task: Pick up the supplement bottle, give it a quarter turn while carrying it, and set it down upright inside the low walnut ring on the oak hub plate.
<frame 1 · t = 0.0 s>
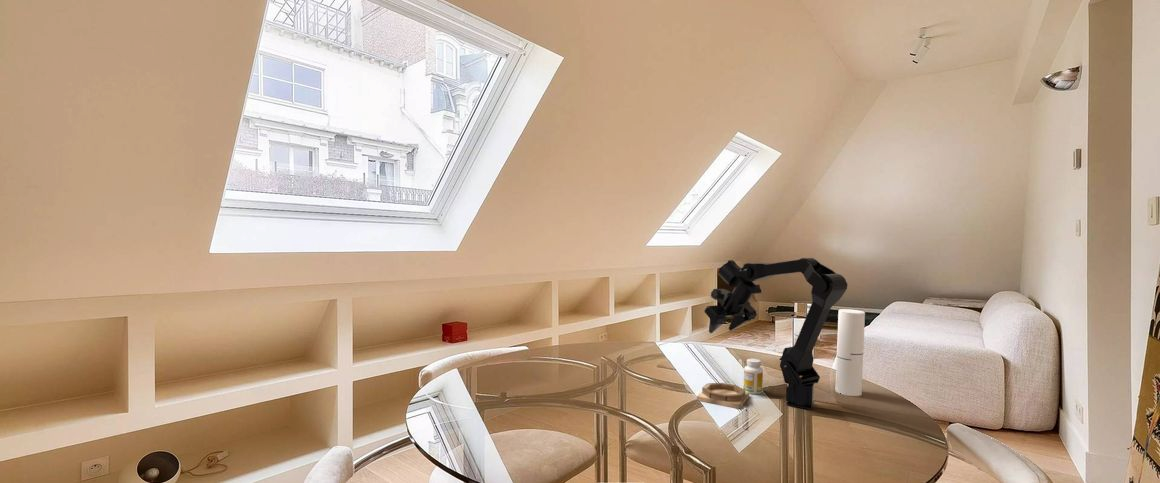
hand: (720, 331, 172), 15 cm above the table, tool tilted 35°, fingers open, 9 cm apart
cylindrical container: (848, 392, 158), on the table
hub plate: (723, 398, 150), on the table
supplement bottle: (752, 392, 157), on the table
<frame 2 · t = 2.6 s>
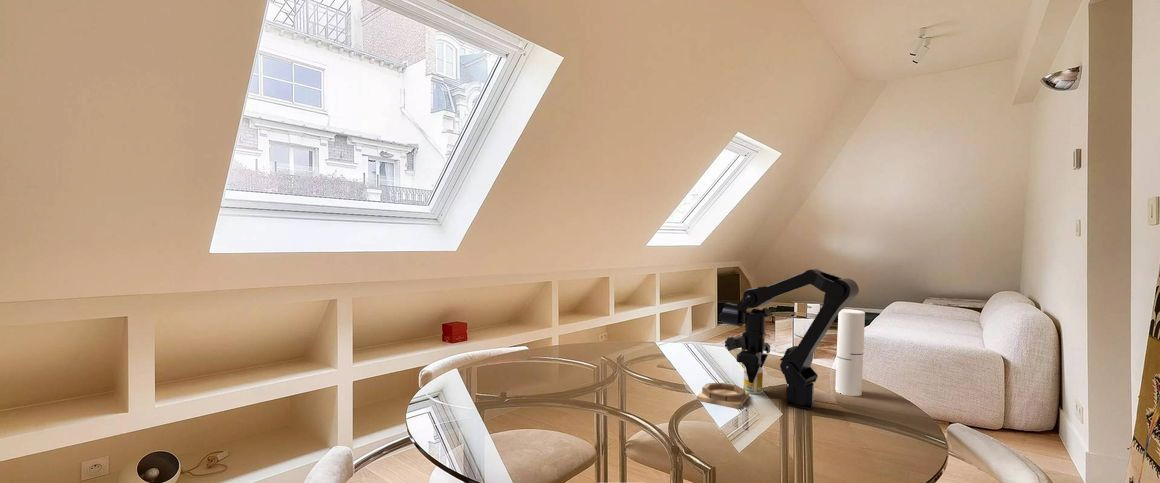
hand: (753, 380, 157), 4 cm above the table, tool pointing down, fingers closed on supplement bottle, 5 cm apart
supplement bottle: (752, 392, 157), on the table, touching gripper
everything else where it was.
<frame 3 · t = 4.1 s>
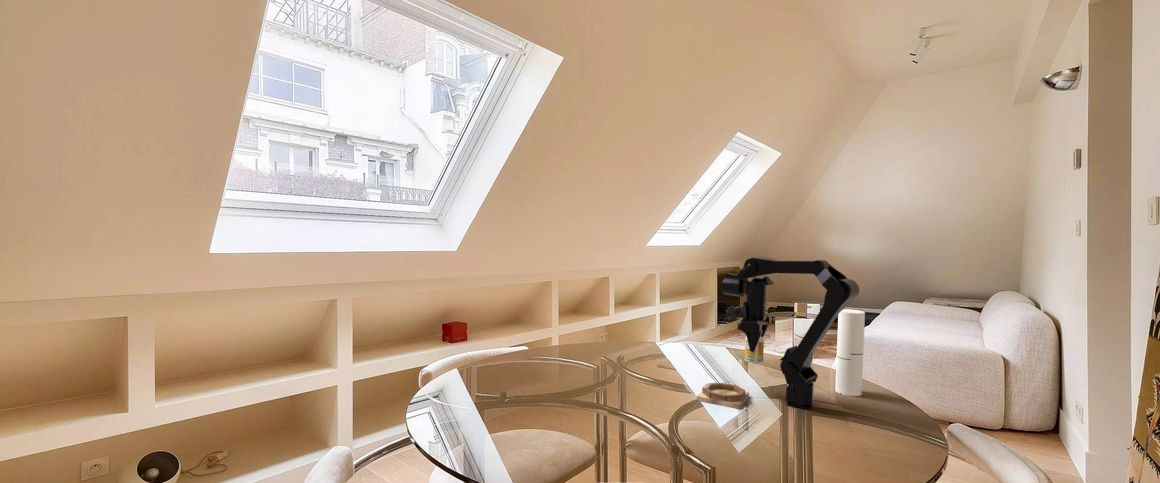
hand: (754, 349, 156), 13 cm above the table, tool pointing down, fingers closed on supplement bottle, 5 cm apart
supplement bottle: (753, 361, 156), point 9 cm above the table, touching gripper
everything else where it was.
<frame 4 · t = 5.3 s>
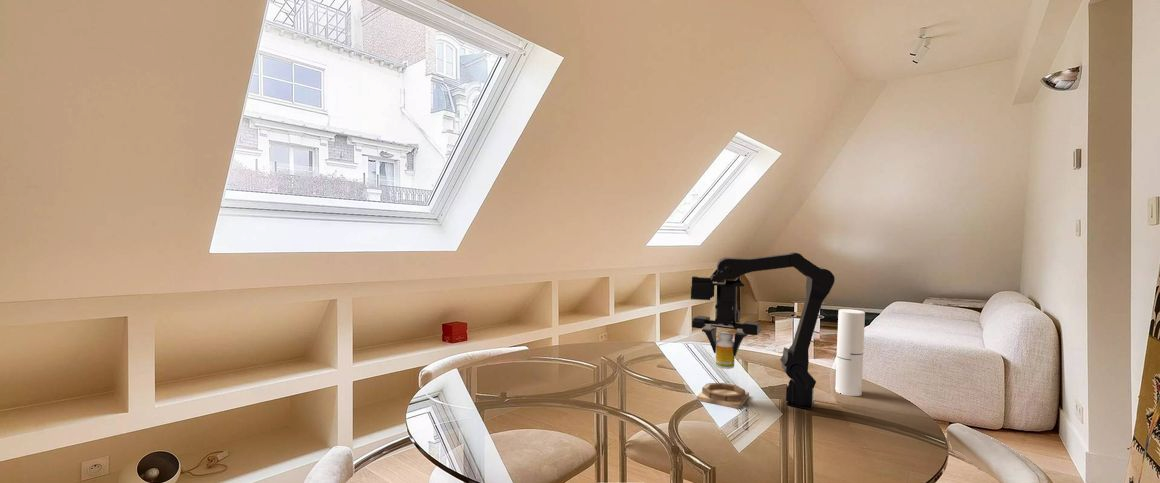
hand: (724, 354, 150), 13 cm above the table, tool pointing down, fingers closed on supplement bottle, 5 cm apart
supplement bottle: (724, 367, 150), point 9 cm above the table, touching gripper
everything else where it was.
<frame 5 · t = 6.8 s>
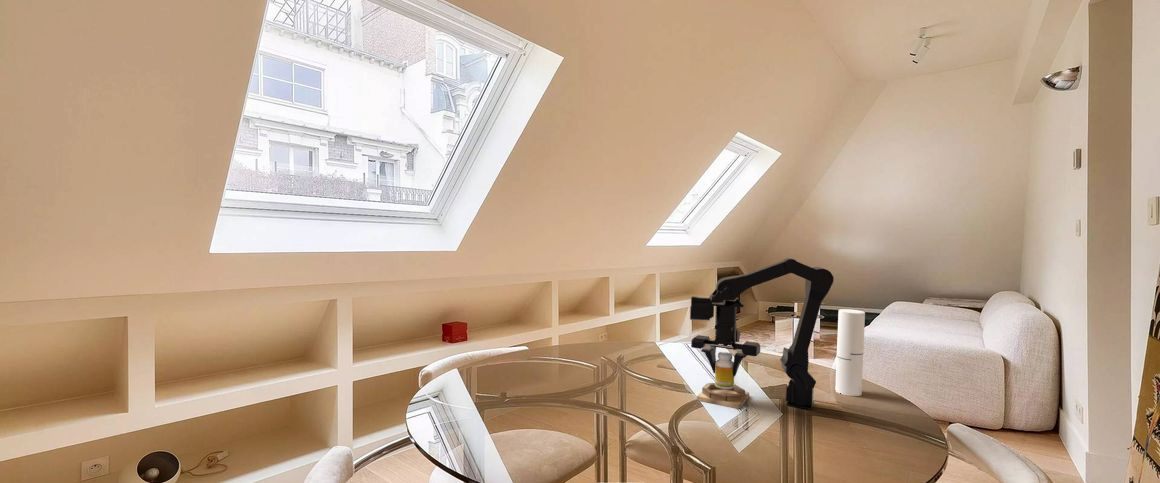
hand: (724, 374, 150), 7 cm above the table, tool pointing down, fingers closed on supplement bottle, 5 cm apart
supplement bottle: (724, 387, 150), point 3 cm above the table, touching gripper
everything else where it was.
when the fingers open (6 cm above the table, at t = 8.1 s): supplement bottle drops 1 cm, resting on hub plate.
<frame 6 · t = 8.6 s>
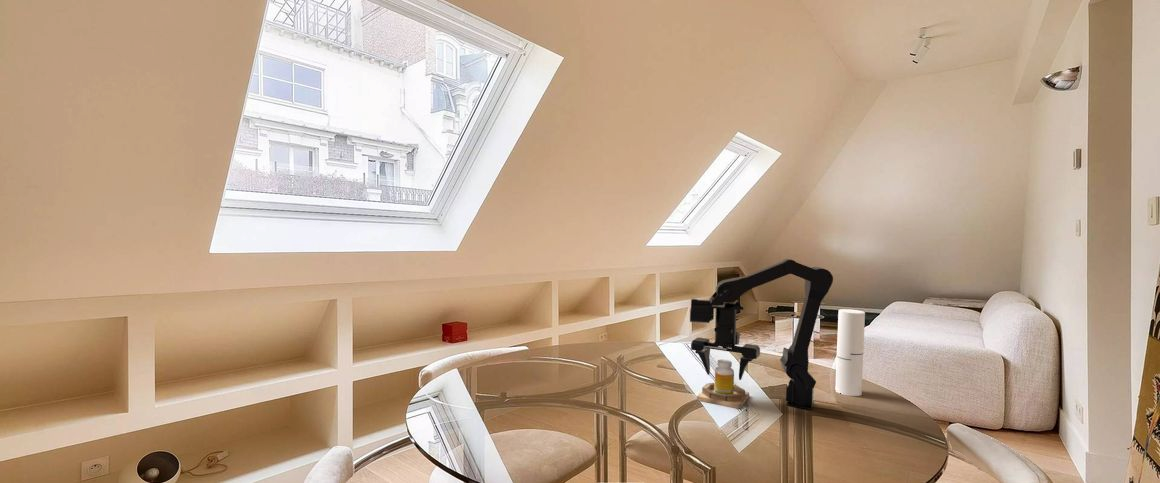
hand: (724, 377, 150), 6 cm above the table, tool pointing down, fingers open, 9 cm apart
supplement bottle: (723, 394, 150), point 1 cm above the table, touching hub plate
everything else where it was.
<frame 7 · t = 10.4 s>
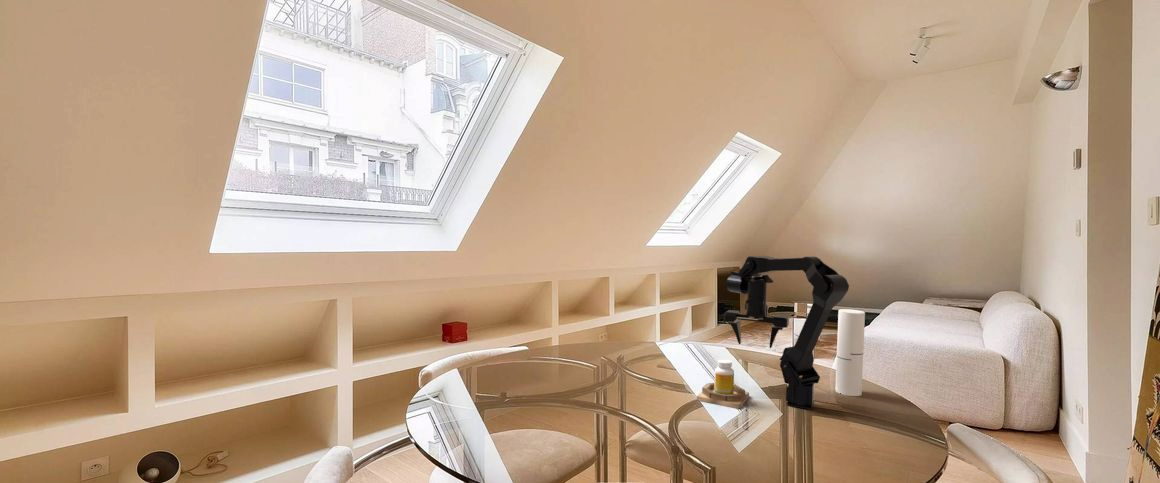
hand: (755, 345, 160), 13 cm above the table, tool pointing down, fingers open, 9 cm apart
nothing on the table moved.
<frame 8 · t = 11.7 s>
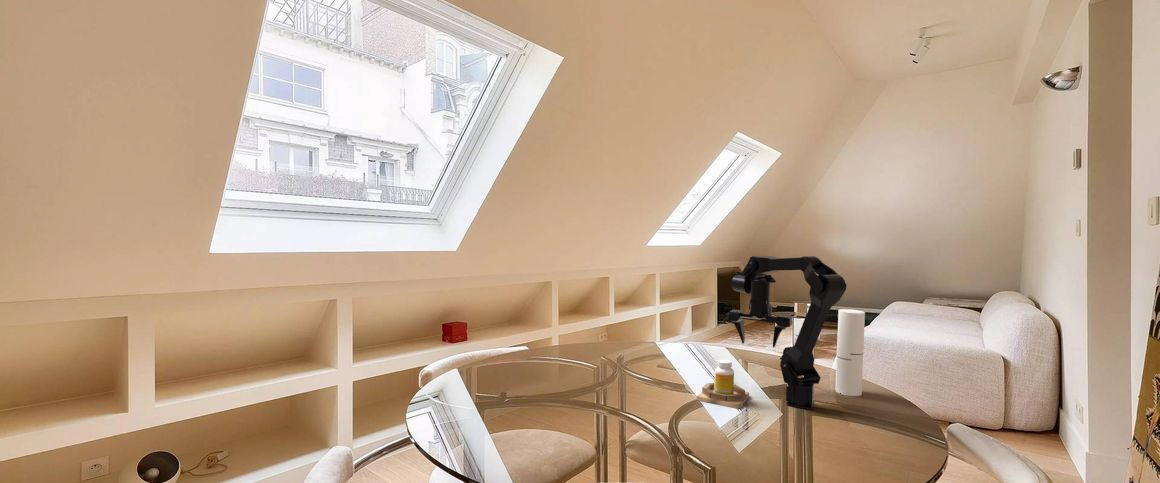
hand: (758, 345, 161), 13 cm above the table, tool pointing down, fingers open, 9 cm apart
nothing on the table moved.
at the end: supplement bottle 0.1 cm off-centre on the hub plate, point 1.0 cm above the hub plate's base; supplement bottle tilted 0°; the gripper is holding nothing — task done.
